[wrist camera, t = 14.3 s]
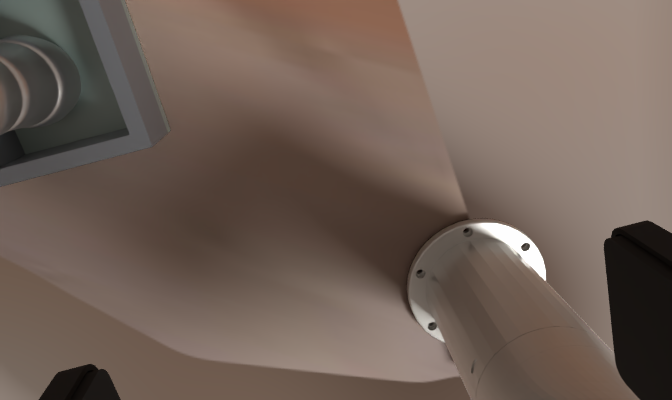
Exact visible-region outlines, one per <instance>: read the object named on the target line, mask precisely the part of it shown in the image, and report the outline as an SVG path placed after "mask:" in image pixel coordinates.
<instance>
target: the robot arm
mask: <svg viewBox="0 0 672 400" xmlns="http://www.w3.org/2000/svg"><path fill="white" fill-rule="evenodd" d="M466 228H467V230H466V231H464V229H466ZM523 243H524V244H523ZM522 244H523V245H522ZM604 253H605V264H606V274H607V284H608V293H609V304H610V314H611V324H612V334H613V344H614V352H613V351H612V350H611V349H610V348H609V347H608V346H607V345H606V344H605V343H604V342H603V341H602V340H601V339H600V338H599V336H598V335H597V334H596V333H595V332H594V331H593V330H592V329H591V328H590V327H589V326H588V325H587V324H586V323H585V322H584V321H583V320H582V319H581V317H580V316H579V315H577V313H576V312H575V311H574V310H573V309H572V308H571V307H570V306H569V305H568V304H567V303H566V302H565V301H564V300H563V299H562V298H561V296H559V295H558V293H557V292H555V290H554V289H553V288H552V287H551V286H550V285H549V284H548V283H547V282H546V269H545V265H544V261H543V257H542V255H541V254H540V251H539V249H538V248H537V246H536V245H535V244H534V243H533V241H532V240H531V239H530V238H529V237H528V236H527V235H526V234H525V233H523V232H522V231H521V230H519V229H518V228H516V227H514V226H513V225H511V224H508V223H505V222H503V221H500V220H495V219H488V218H480V219H470V220H465V221H460V222H458V223H455V224H453V225H450V226H448V227H446V228H444V229H443V230H441V231H439V232H438V233H436V234H435V235H434V236H433V237H432V238H430V239H429V240H428V241H427V242H426V243H425V244H424V245H423V247H422V248H421V249H420V250H419V252H418V253H417V255H416V257H415V259H414V261H413V262H412V264H411V267H410V271H409V274H408V280H407V295H408V301H409V304H410V307H411V310H412V312H413V314H414V316H415V318H416V320H417V322H418V323H419V324H420V325H421V327H422V328H423V329H424V330H425V331H426V332H427V333H428V334H430V335H431V336H432V337H434V338H436V339H437V340H439V341H441V342H443V343H445V344H446V346H447V348H448V350H449V352H450V354H451V357H452V359H453V361H454V363H455V365H456V367H457V370H458V372H459V374H460V376H461V378H462V380H463V383H464V385H465V387H466V389H467V391H468V394H469V396H470V398H471V400H672V233H670V232H668V231H667V230H665V229H663V228H661V227H660V226H658V225H656V224H654V223H653V222H650V221H643V222H639V223H635V224H631V225H627V226H623V227H619V228H616V229H614V230H613V231H612V235H611V238H608V239H606V240H605V242H604ZM418 270H421V271H419V272H417V271H418ZM431 322H432V323H431ZM39 400H120V397H119V395H118V393H117V391H116V389H115V387H114V384H113V382H112V380H111V378H110V376H109V374H108V372H107V371H106V370H104V369H100V370H98V369H97V368H96V367H95V366H94V365H92V364H88V365H84V366H80V367H76V368H72V369H69V370H65V371H61V372H58V373H57V374H56V375H55V377H54V378H53V380H52V381H51V382H50V384H49V386H48V387H47V388H46V390H45V391H44V393H43V394H42V396H41V397H40V399H39Z"/></svg>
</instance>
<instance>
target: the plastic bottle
mask: <svg viewBox="0 0 672 400" xmlns="http://www.w3.org/2000/svg"><path fill="white" fill-rule="evenodd" d="M80 93H81V78H80V74H79V71H78V68H77V67H76V65H75V63H74V61H73V60H72V59H71V58H70V56H69V55H68V54H67V53H66V52H65V51H64V50H62V49H61V48H60V47H58V46H57V45H55V44H53V43H52V42H49V41H46V40H44V39H40V38H37V37H33V36H28V35H13V36H7V37H4V38H1V39H0V135H2V134H4V133H6V132H8V131H11V130H15V129H20V128H36V127H43V126H48V125H51V124H54V123H56V122H58V121H60V120H61V119H63V118H64V117H65V116H66V115H67V114H68V113H69V112H70V111H71V110H72V109H73V108H74V107H75V105H76V103H77V102H78V100H79V97H80Z"/></svg>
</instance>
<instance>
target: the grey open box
mask: <svg viewBox="0 0 672 400" xmlns="http://www.w3.org/2000/svg"><path fill="white" fill-rule="evenodd" d="M13 35H28V36H33V37H37V38H40V39H44V40H46V41H49V42H52V43H53V44H55V45H57V46H58V47H60V48H61V49H62V50H64V51H65V52H66V53H67V54H68V55H69V56H70V58H71V59H72V60H73V61H74V63H75V65H76V67H77V68H78V71H79V74H80V78H81V93H80V97H79V100H78V102H77V103H76V105H75V107H74V108H73V109H72V110H71V111H70V112H69V113H68V114H67V115H66V116H65V117H64V118H63V119H61V120H60V121H58V122H56V123H54V124H51V125H48V126H43V127H36V128H20V129H15V130H11V131H8V132H6V133H4V134H2V135H0V187H2V186H5V185H9V184H13V183H17V182H21V181H24V180H28V179H32V178H36V177H40V176H43V175H47V174H51V173H55V172H59V171H62V170H66V169H70V168H74V167H78V166H81V165H85V164H89V163H93V162H97V161H100V160H104V159H108V158H112V157H116V156H119V155H123V154H127V153H131V152H135V151H138V150H142V149H146V148H150V147H153V146H154V145H155V144H156V143H157V142H158V141H160V140H161V139H162V138H163V137H164V136H165V135H166V134H167V133H168V132H170V131H171V130H170V127H169V124H168V121H167V118H166V115H165V113H164V110H163V107H162V104H161V101H160V99H159V96H158V93H157V90H156V87H155V84H154V82H153V79H152V76H151V73H150V70H149V67H148V65H147V62H146V59H145V56H144V53H143V51H142V48H141V45H140V42H139V39H138V36H137V34H136V31H135V28H134V25H133V22H132V19H131V17H130V14H129V11H128V8H127V5H126V2H125V0H0V39H1V38H4V37H7V36H13Z"/></svg>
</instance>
